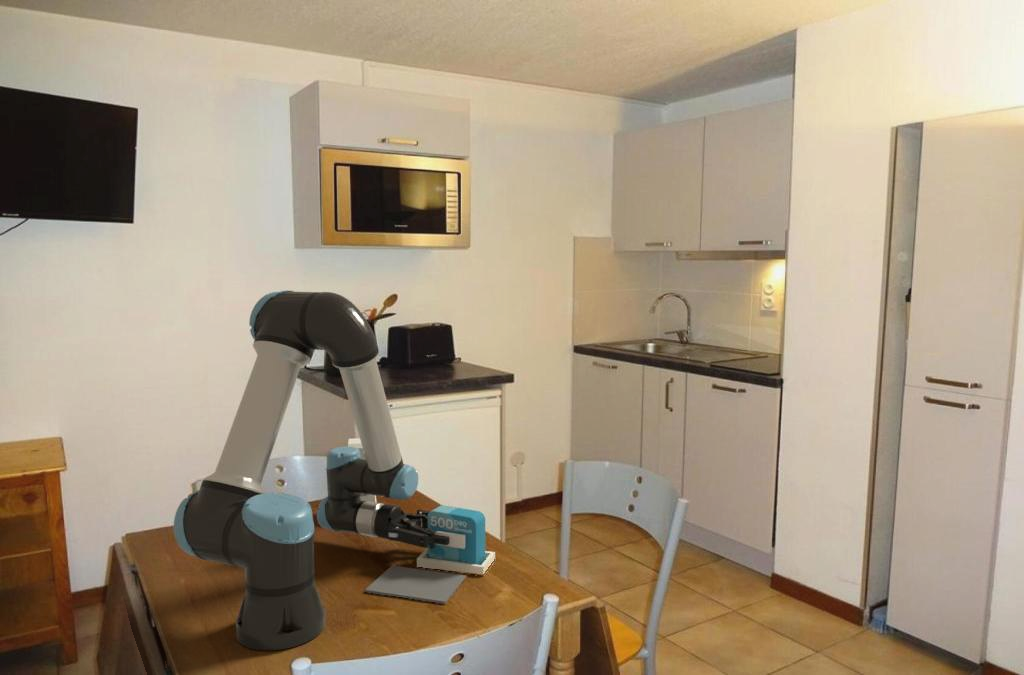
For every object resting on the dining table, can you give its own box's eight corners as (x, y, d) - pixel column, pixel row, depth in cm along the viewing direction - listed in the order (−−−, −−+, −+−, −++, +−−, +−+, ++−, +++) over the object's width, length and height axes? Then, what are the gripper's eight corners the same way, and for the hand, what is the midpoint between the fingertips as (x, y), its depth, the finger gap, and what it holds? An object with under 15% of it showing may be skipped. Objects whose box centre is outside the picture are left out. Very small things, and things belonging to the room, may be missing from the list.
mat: (445, 604, 136) (445, 601, 136) (365, 592, 141) (365, 589, 141) (466, 578, 147) (466, 575, 147) (391, 568, 152) (391, 565, 152)
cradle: (483, 576, 148) (483, 567, 148) (416, 567, 153) (416, 558, 152) (495, 560, 156) (495, 552, 156) (431, 552, 160) (431, 544, 160)
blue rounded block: (427, 563, 155) (427, 509, 154) (438, 555, 159) (437, 503, 158) (475, 573, 150) (475, 518, 149) (485, 565, 154) (485, 511, 153)
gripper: (404, 521, 170) (491, 534, 162) (355, 553, 151) (451, 570, 143) (404, 491, 170) (491, 502, 161) (355, 519, 150) (451, 534, 142)
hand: (473, 534), depth 152 cm, fingers open, 8 cm apart
